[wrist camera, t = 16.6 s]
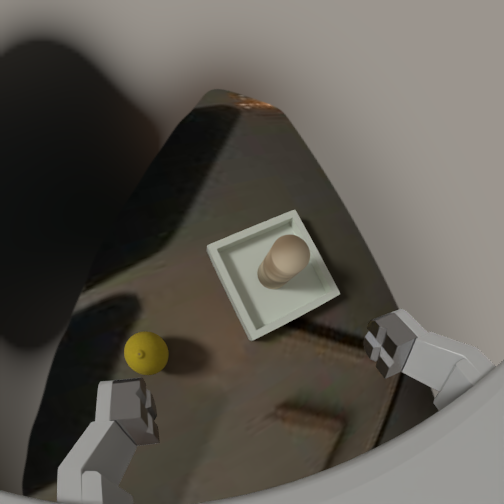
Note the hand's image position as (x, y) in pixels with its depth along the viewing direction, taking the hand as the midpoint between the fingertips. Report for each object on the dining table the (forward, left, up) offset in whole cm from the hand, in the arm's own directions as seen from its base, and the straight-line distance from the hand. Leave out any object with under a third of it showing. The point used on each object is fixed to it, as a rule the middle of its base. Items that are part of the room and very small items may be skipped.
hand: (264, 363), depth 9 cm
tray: (+6, -11, -31) cm, 34 cm away
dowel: (+6, -11, -30) cm, 33 cm away
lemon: (+3, +9, -32) cm, 33 cm away
